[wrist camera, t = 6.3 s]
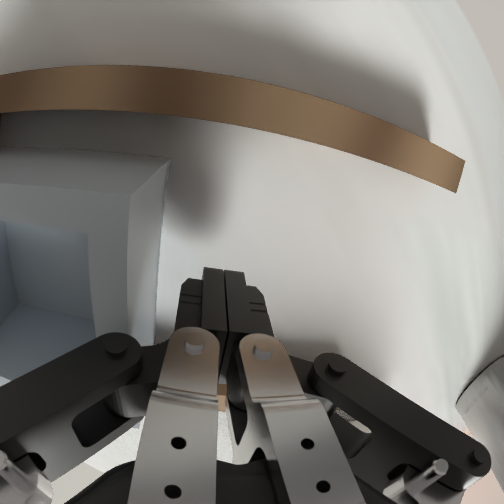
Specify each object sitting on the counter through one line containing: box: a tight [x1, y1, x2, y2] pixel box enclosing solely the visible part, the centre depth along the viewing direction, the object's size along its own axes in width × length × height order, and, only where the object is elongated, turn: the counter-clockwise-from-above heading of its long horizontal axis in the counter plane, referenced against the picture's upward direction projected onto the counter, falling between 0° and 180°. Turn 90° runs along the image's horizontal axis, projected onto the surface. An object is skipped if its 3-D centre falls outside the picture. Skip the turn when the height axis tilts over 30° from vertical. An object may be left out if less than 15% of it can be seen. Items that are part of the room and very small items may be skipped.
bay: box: [0, 65, 465, 411], centre depth 12 cm, size 22×15×2 cm
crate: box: [0, 148, 171, 429], centre depth 9 cm, size 9×9×6 cm
